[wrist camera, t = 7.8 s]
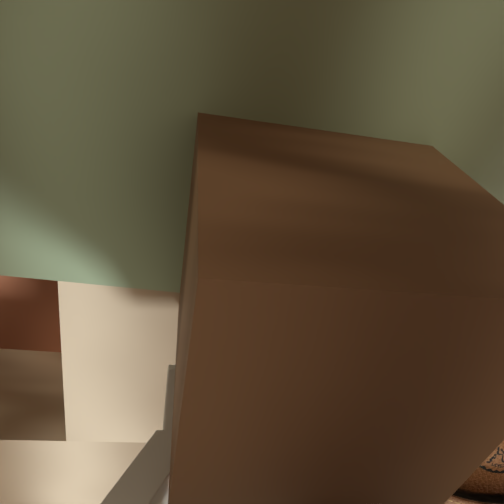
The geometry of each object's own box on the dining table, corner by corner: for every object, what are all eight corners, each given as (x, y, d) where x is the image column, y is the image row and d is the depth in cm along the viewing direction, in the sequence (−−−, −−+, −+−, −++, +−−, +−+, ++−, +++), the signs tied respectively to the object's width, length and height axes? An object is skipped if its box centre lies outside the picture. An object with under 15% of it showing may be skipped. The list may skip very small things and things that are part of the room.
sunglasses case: (512, 365, 21) (612, 509, 18) (501, 364, 27) (573, 471, 24) (228, 493, 26) (271, 622, 23) (273, 468, 32) (311, 567, 29)
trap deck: (-4, 455, 21) (-41, 548, 18) (-169, -249, 7) (-451, -403, 4) (313, 459, 24) (331, 537, 21) (585, -9, 11) (744, 6, 8)
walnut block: (178, 304, 11) (167, 515, 7) (197, 112, 8) (198, 277, 4) (357, 314, 12) (442, 505, 8) (432, 145, 9) (628, 307, 5)
